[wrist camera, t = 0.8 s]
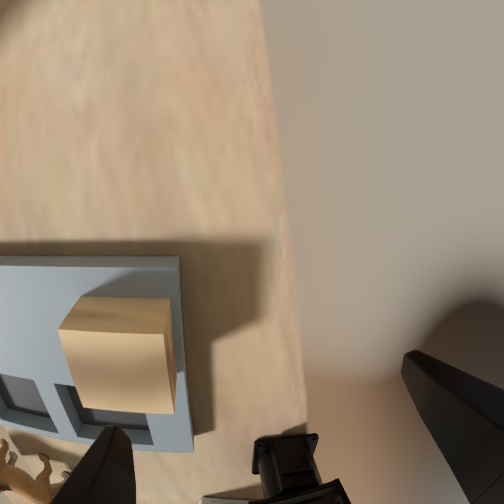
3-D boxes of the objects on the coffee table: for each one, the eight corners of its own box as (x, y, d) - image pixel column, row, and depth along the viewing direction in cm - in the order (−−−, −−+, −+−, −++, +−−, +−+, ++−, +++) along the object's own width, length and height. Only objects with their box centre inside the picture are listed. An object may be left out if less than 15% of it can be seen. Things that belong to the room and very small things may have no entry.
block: (177, 373, 21) (174, 414, 17) (97, 369, 20) (83, 407, 16) (170, 298, 19) (163, 334, 15) (80, 296, 18) (57, 329, 14)
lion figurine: (-5, 452, 25) (-23, 498, 17) (-20, 428, 24) (-43, 476, 15) (85, 479, 28) (74, 535, 19) (73, 458, 26) (58, 519, 18)
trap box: (193, 436, 26) (194, 452, 24) (-11, 407, 23) (-17, 418, 21) (179, 256, 20) (176, 267, 18) (-68, 255, 17) (-81, 262, 15)
